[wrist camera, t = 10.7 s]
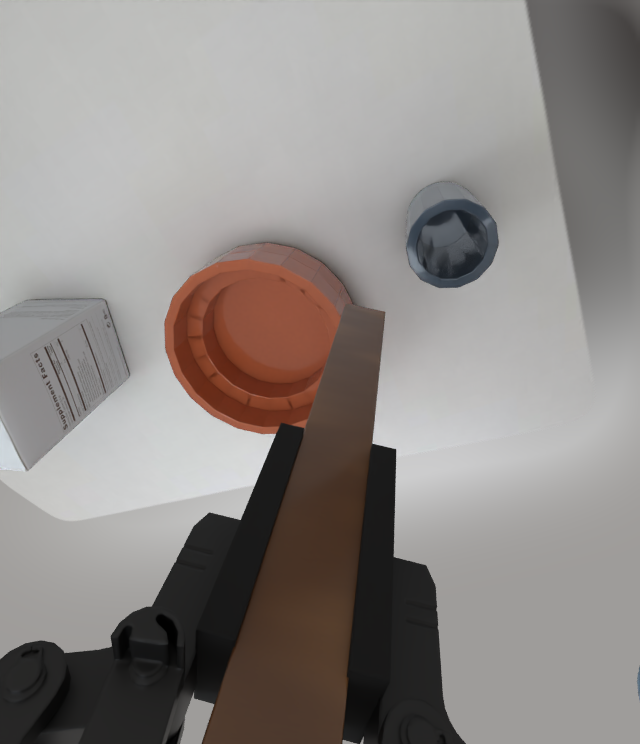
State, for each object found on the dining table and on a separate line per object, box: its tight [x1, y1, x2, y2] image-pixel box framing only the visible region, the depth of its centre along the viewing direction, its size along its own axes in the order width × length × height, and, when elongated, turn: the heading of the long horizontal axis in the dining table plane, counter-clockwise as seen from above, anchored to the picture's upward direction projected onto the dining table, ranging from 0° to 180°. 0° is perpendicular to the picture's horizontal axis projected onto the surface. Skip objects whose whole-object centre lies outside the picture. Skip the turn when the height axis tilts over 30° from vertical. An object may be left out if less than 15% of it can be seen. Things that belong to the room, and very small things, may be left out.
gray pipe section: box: [406, 182, 499, 288], centre depth 30 cm, size 5×5×9 cm
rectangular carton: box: [0, 299, 129, 471], centre depth 39 cm, size 9×9×15 cm
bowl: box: [165, 243, 353, 434], centre depth 38 cm, size 16×16×6 cm
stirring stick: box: [202, 304, 385, 744], centre depth 15 cm, size 2×2×22 cm
